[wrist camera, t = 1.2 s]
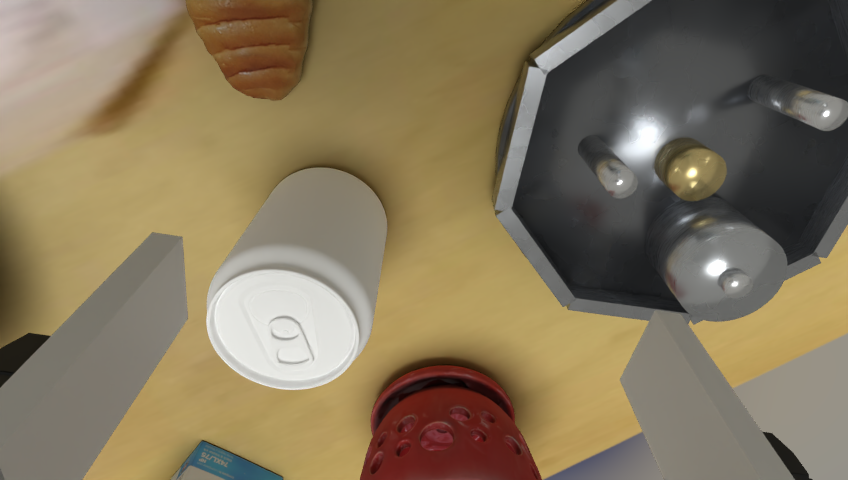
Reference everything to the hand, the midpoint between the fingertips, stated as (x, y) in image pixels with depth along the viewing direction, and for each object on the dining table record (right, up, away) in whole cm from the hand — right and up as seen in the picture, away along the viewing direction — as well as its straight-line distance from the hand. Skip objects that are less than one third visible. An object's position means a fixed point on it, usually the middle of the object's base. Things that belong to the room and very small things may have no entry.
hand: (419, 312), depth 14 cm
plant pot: (+2, -12, +29) cm, 31 cm away
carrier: (+16, +7, +18) cm, 25 cm away
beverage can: (-6, +3, +20) cm, 21 cm away
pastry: (-9, +16, +14) cm, 23 cm away
